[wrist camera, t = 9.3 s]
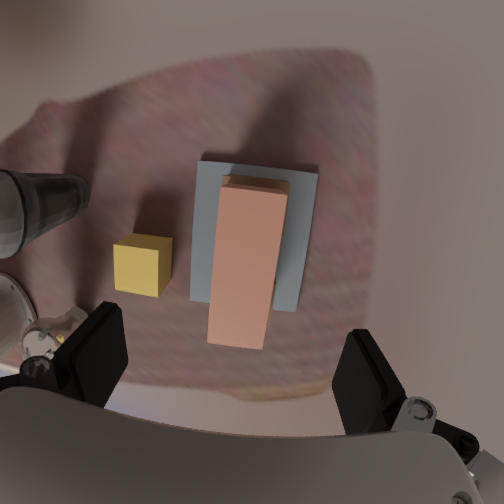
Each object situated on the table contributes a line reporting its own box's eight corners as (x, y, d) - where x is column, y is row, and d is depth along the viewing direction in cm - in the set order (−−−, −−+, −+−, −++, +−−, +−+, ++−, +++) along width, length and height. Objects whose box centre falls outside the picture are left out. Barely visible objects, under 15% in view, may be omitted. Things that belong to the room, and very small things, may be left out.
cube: (133, 272, 29) (115, 289, 25) (132, 232, 28) (113, 244, 23) (171, 279, 29) (158, 297, 25) (172, 237, 28) (158, 250, 24)
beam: (227, 183, 20) (220, 186, 17) (282, 190, 20) (287, 195, 17) (214, 315, 24) (207, 342, 20) (261, 321, 24) (261, 349, 20)
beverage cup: (107, 216, 27) (-46, 289, 8) (62, 234, 28) (-70, 303, 9) (91, 152, 25) (-72, 164, 6) (46, 176, 26) (-94, 208, 7)
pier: (225, 217, 26) (217, 228, 21) (229, 173, 25) (222, 175, 20) (279, 222, 26) (283, 235, 21) (284, 180, 25) (290, 182, 20)
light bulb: (100, 346, 32) (57, 404, 21) (61, 319, 31) (10, 367, 20) (112, 308, 30) (59, 367, 19) (68, 279, 30) (7, 325, 18)
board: (191, 296, 30) (189, 300, 29) (199, 160, 25) (198, 160, 25) (294, 308, 30) (295, 311, 29) (316, 173, 26) (318, 174, 25)
